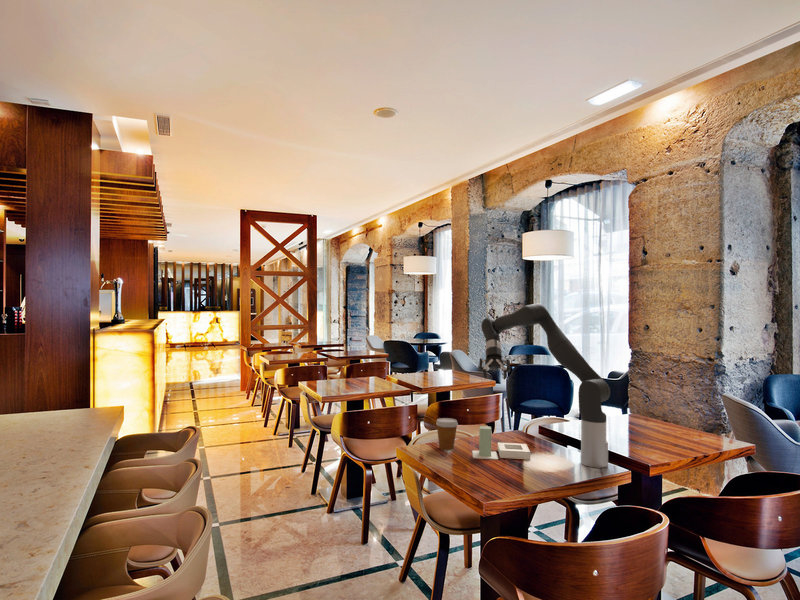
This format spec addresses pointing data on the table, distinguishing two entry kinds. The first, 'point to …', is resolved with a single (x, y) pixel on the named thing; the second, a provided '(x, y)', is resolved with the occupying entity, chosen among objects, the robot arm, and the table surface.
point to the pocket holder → (513, 450)
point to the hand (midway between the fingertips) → (495, 378)
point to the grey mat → (477, 456)
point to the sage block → (484, 441)
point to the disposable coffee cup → (446, 433)
